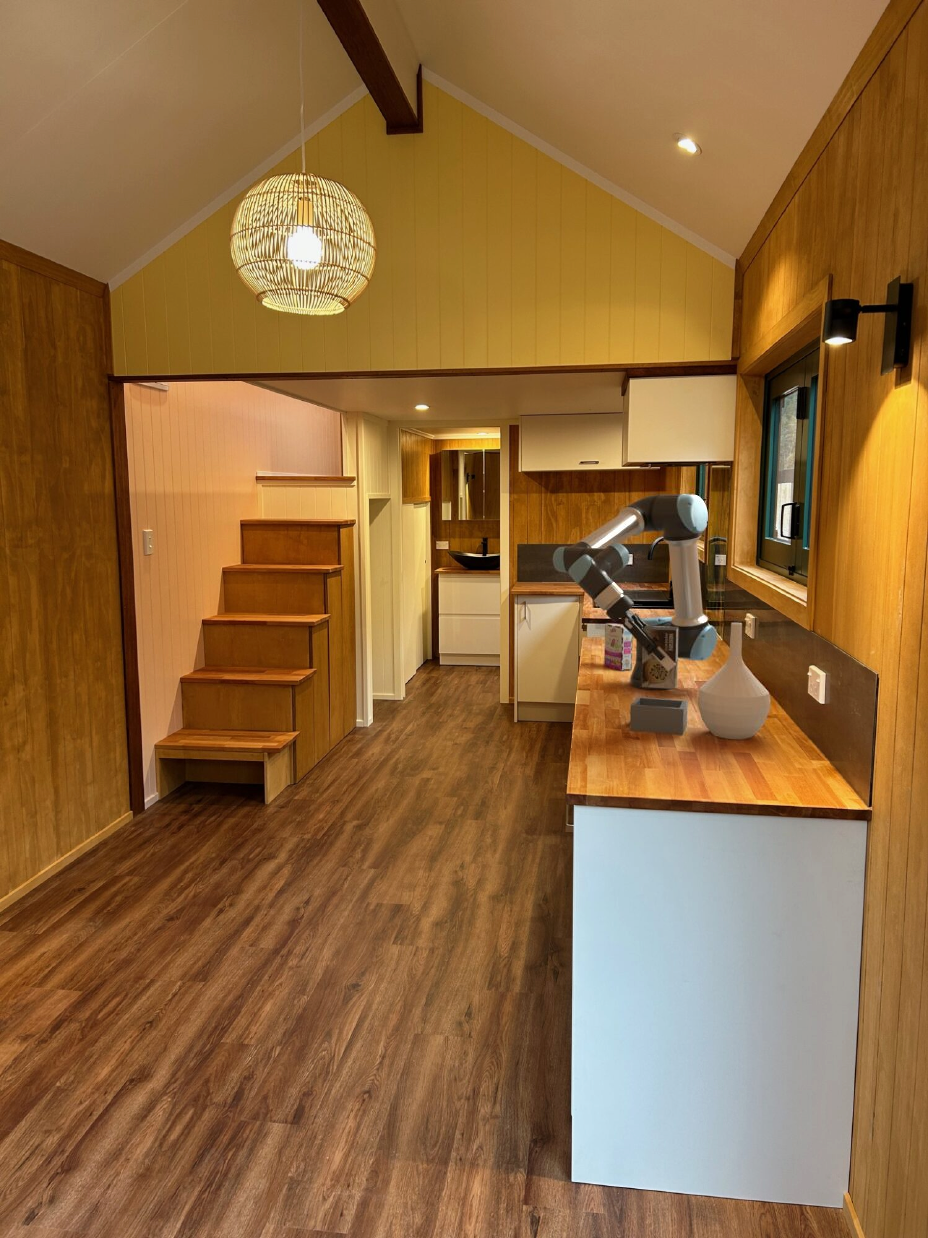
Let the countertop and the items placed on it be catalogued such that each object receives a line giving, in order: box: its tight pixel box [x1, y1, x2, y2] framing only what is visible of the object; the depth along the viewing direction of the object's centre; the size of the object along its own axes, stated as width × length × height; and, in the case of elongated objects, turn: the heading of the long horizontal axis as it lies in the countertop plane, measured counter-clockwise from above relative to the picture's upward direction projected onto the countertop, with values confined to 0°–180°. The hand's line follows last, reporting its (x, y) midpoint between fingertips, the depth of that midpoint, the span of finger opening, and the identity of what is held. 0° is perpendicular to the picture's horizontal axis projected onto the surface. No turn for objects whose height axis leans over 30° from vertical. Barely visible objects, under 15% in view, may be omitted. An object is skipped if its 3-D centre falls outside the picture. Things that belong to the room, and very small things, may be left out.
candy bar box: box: [603, 622, 634, 672], centre depth 319 cm, size 11×5×16 cm, turn 27°
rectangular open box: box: [629, 696, 688, 736], centre depth 233 cm, size 11×14×7 cm
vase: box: [697, 622, 771, 740], centre depth 225 cm, size 18×18×30 cm
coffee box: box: [642, 626, 679, 690], centre depth 231 cm, size 9×6×16 cm
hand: (673, 665), depth 230 cm, fingers closed on coffee box, 6 cm apart
